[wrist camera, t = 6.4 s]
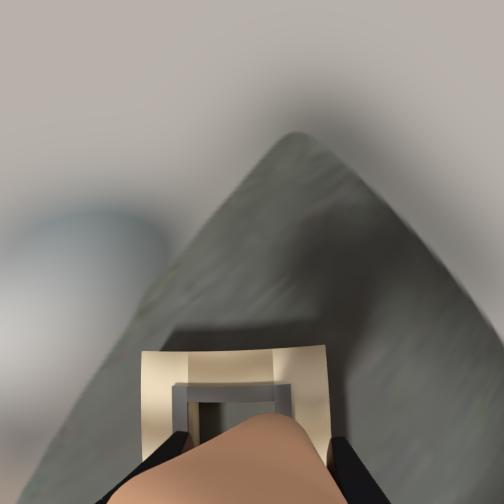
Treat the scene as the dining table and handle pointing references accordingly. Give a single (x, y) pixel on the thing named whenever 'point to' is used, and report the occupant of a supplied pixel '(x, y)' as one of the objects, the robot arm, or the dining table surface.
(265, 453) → the peg
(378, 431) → the dining table surface
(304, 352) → the socket block
